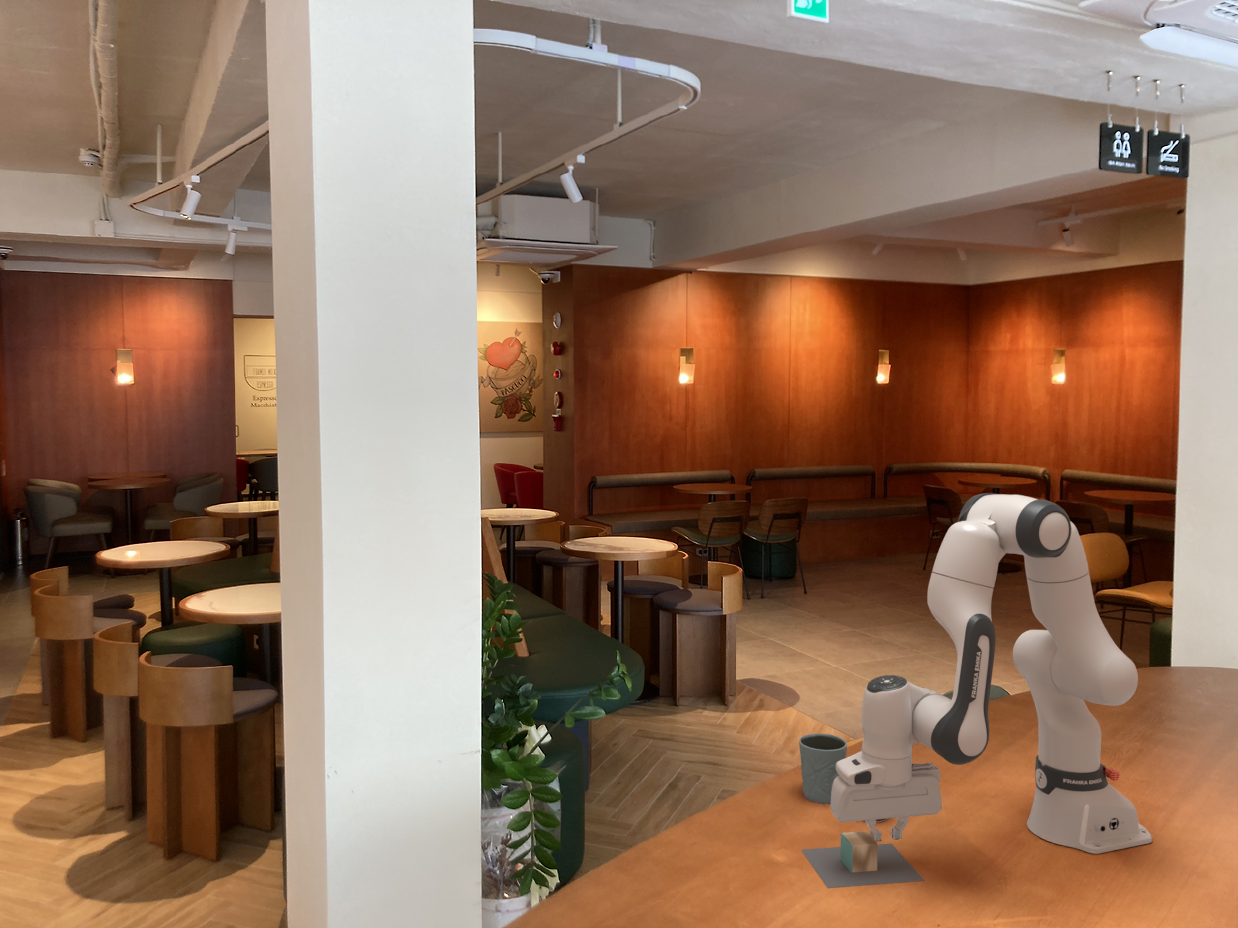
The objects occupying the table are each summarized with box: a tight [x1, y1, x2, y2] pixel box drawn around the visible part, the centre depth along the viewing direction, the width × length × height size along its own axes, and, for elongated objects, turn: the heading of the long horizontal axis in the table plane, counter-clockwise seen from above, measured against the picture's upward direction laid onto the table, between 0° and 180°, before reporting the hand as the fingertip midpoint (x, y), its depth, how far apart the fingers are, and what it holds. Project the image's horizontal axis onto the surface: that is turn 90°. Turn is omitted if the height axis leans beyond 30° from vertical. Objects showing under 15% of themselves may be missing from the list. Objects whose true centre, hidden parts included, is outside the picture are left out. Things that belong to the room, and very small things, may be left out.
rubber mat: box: [800, 842, 926, 889], centre depth 172 cm, size 18×14×1 cm
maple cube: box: [840, 830, 879, 873], centre depth 172 cm, size 5×5×5 cm
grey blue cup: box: [798, 733, 848, 805], centre depth 203 cm, size 10×10×12 cm
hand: (886, 839), depth 172 cm, fingers open, 3 cm apart
